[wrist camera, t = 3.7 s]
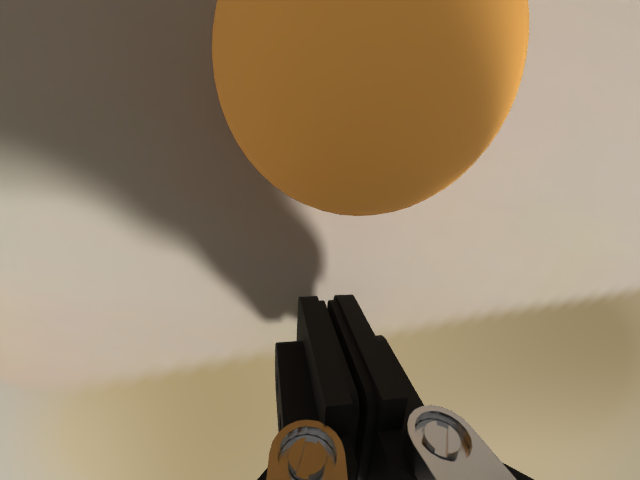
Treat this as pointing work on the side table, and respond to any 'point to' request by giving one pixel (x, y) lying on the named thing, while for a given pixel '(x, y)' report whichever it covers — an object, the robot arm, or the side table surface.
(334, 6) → the ball
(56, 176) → the side table surface
